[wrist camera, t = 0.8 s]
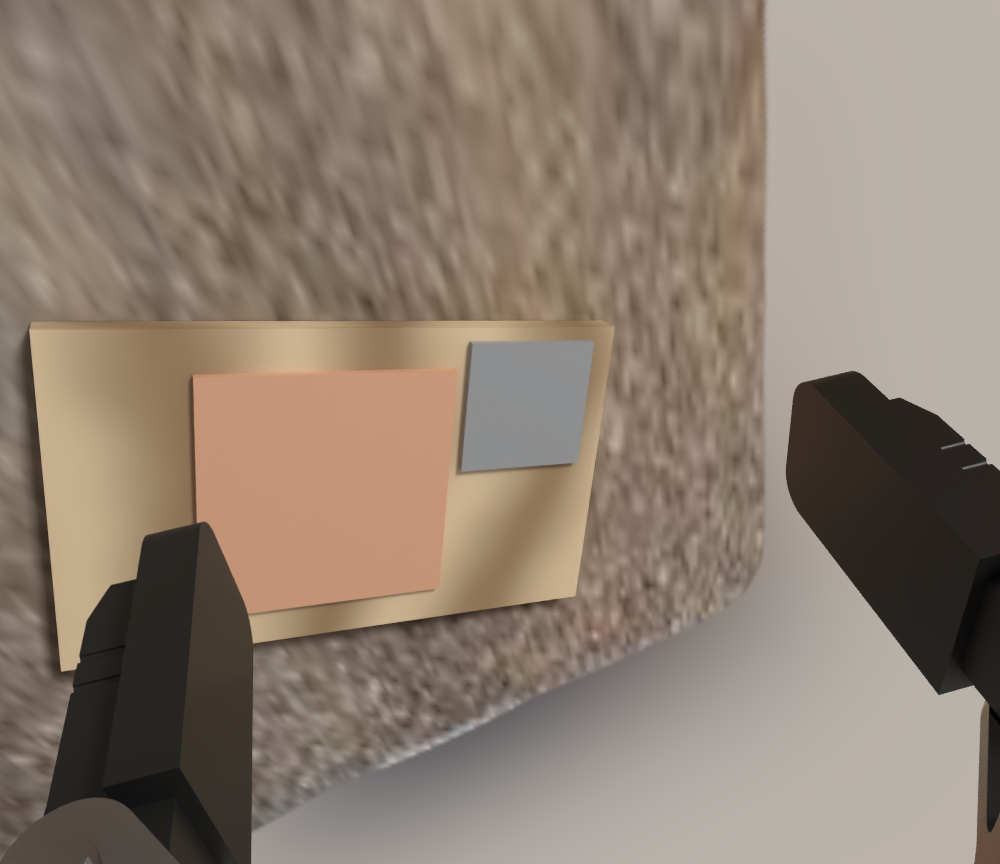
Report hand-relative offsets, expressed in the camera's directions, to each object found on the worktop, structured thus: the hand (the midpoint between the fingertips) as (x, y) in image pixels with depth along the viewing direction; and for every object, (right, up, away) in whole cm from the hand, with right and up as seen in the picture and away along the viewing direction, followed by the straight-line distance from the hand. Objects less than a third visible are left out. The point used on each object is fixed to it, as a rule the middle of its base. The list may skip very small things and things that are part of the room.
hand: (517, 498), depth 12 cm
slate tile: (+1, +2, +21) cm, 21 cm away
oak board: (-6, -1, +21) cm, 21 cm away
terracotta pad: (-6, -1, +19) cm, 20 cm away
